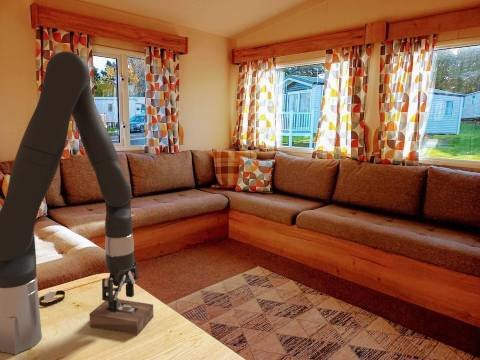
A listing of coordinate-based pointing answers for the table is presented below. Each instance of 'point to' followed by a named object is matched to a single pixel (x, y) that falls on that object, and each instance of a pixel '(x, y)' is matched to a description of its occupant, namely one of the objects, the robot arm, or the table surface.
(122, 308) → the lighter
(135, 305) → the slot stand
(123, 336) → the table surface
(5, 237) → the robot arm
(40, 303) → the watch
